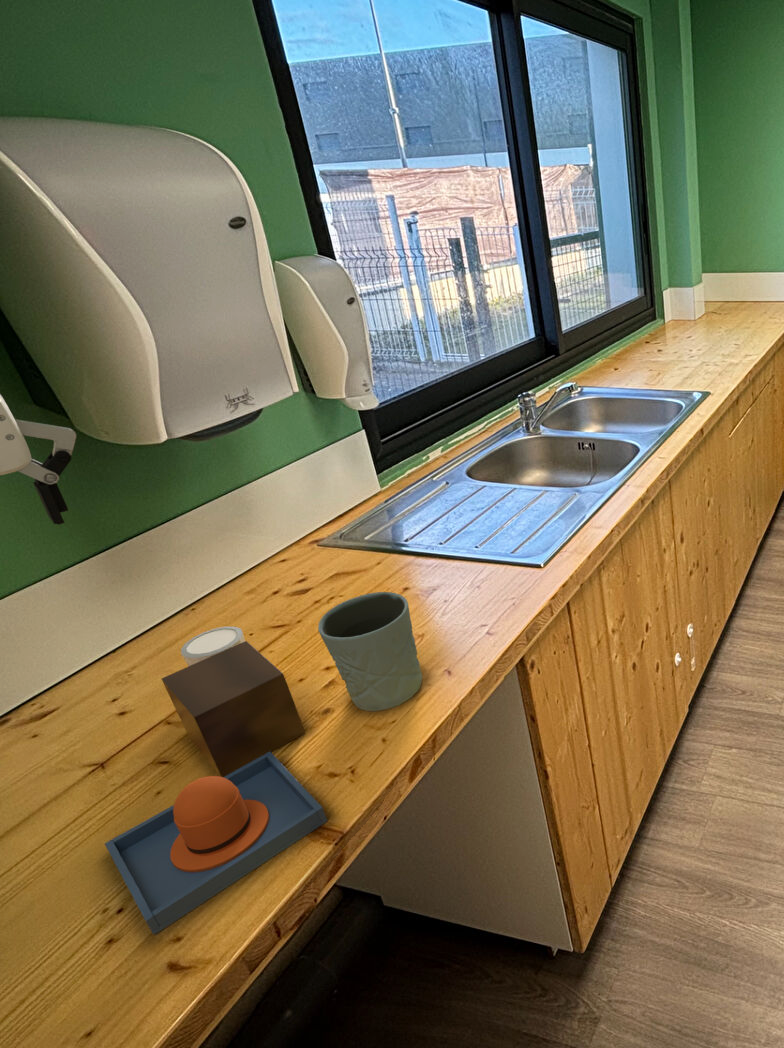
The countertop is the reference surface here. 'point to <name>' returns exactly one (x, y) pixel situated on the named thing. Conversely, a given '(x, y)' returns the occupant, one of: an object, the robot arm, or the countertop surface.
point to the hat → (214, 824)
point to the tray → (179, 892)
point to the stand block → (234, 707)
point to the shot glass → (211, 643)
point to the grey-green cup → (373, 649)
